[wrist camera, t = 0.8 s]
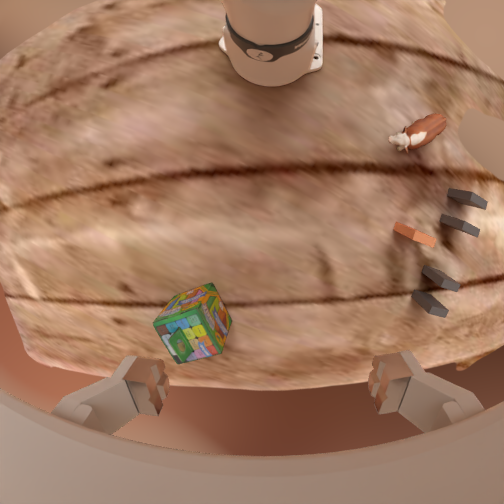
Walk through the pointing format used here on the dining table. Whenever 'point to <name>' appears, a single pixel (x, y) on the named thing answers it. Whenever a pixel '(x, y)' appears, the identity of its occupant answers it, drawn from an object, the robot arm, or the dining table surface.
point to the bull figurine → (419, 132)
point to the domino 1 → (415, 234)
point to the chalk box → (194, 324)
